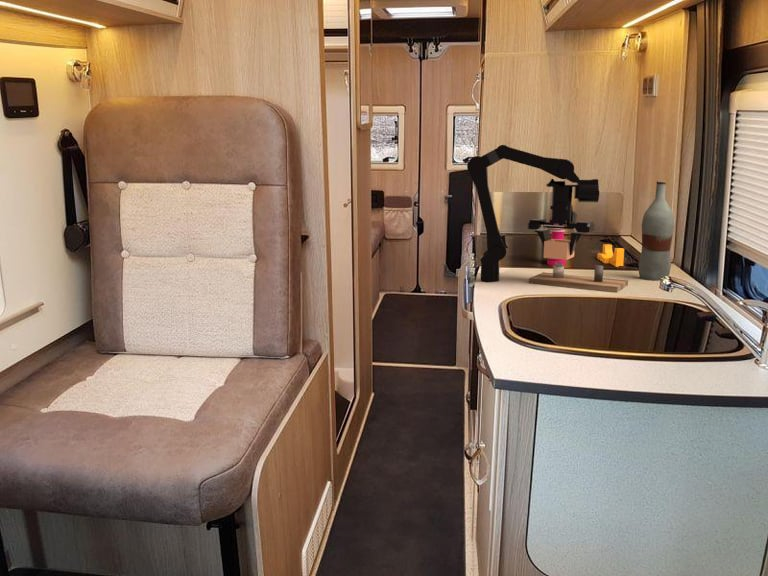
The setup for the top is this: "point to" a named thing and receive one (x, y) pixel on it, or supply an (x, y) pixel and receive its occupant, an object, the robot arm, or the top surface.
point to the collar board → (579, 280)
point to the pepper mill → (556, 234)
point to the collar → (557, 249)
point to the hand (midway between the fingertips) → (559, 254)
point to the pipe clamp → (611, 255)
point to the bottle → (656, 237)
